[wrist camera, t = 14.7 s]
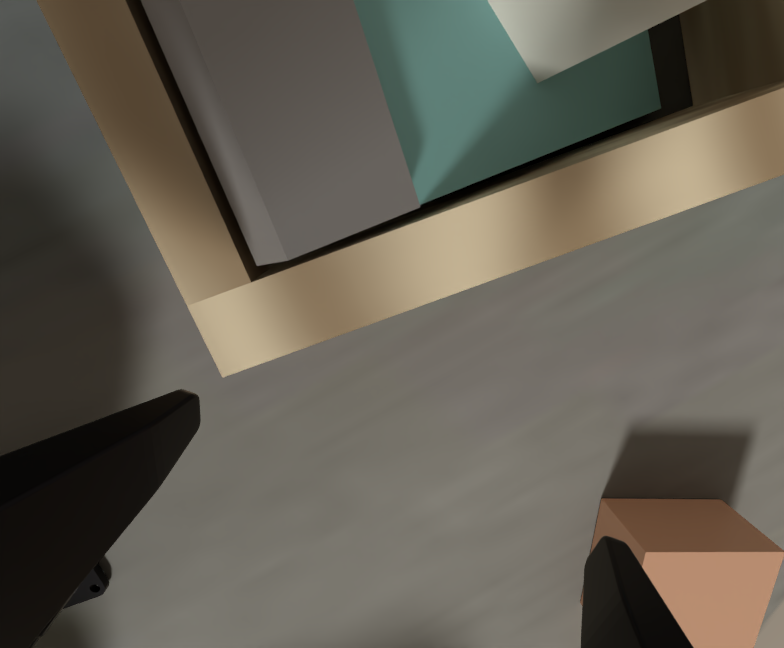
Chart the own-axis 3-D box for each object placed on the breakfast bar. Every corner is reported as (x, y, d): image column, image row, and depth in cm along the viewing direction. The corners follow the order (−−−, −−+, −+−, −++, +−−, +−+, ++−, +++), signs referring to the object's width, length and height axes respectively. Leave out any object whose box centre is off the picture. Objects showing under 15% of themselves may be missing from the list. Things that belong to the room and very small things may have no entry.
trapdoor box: (267, 318, 21) (222, 377, 14) (97, -64, 17) (-89, -255, 10) (743, 145, 21) (945, 115, 14) (688, -290, 17) (936, -659, 9)
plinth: (580, 602, 27) (617, 669, 23) (601, 498, 25) (645, 552, 21) (692, 601, 27) (747, 666, 24) (720, 499, 26) (785, 551, 22)
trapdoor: (256, 265, 13) (288, 260, 11) (74, -151, 10) (62, -282, 8) (621, 121, 21) (686, 99, 19) (570, -136, 18) (639, -200, 16)
